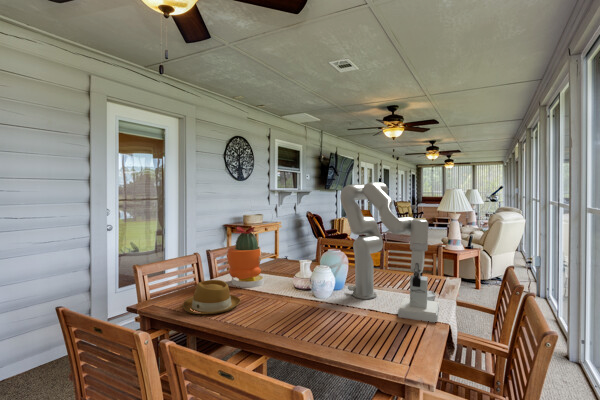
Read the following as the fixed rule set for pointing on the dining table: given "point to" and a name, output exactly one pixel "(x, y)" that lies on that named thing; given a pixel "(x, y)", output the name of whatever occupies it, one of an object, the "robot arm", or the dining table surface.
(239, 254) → the potted cactus
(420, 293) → the supplement box
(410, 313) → the stand
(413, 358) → the dining table surface
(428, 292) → the ramekin
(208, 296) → the fedora
